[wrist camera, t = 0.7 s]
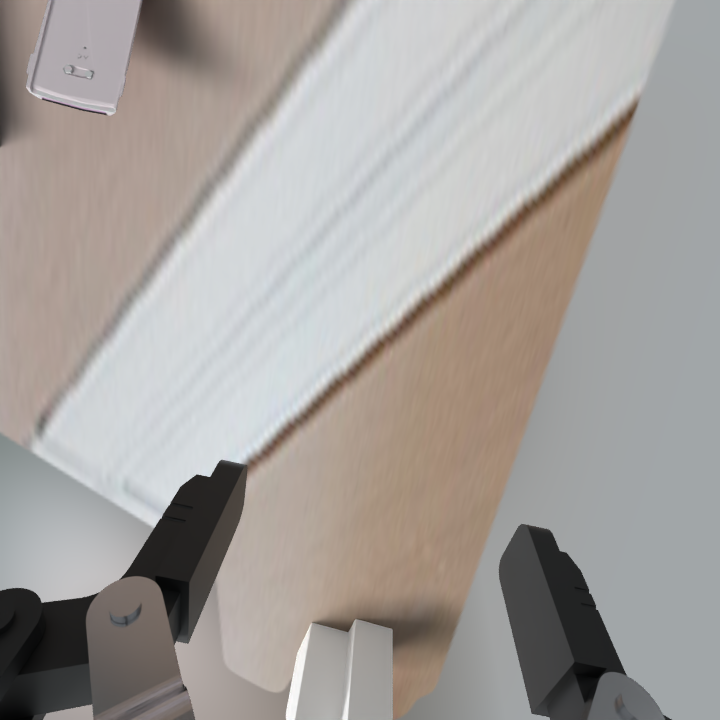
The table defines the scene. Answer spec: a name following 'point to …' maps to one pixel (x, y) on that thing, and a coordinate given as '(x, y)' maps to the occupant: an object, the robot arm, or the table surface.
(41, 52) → the mobile phone
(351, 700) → the corner bracket
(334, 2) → the table surface
